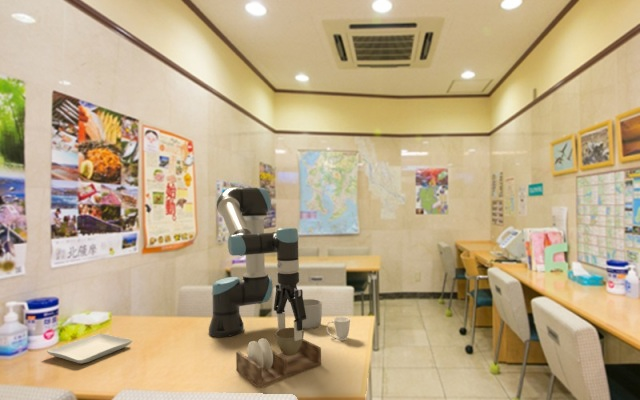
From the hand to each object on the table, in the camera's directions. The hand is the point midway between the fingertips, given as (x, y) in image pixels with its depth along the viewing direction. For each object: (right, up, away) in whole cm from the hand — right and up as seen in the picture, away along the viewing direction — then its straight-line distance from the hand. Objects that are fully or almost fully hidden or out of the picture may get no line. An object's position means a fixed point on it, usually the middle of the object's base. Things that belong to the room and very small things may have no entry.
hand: (289, 335), depth 124 cm
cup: (+18, -10, +23) cm, 31 cm away
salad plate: (-79, -13, +14) cm, 81 cm away
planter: (+6, -11, +39) cm, 41 cm away
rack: (-3, -10, -3) cm, 11 cm away
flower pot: (0, -6, 0) cm, 6 cm away
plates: (-9, -9, -7) cm, 15 cm away
